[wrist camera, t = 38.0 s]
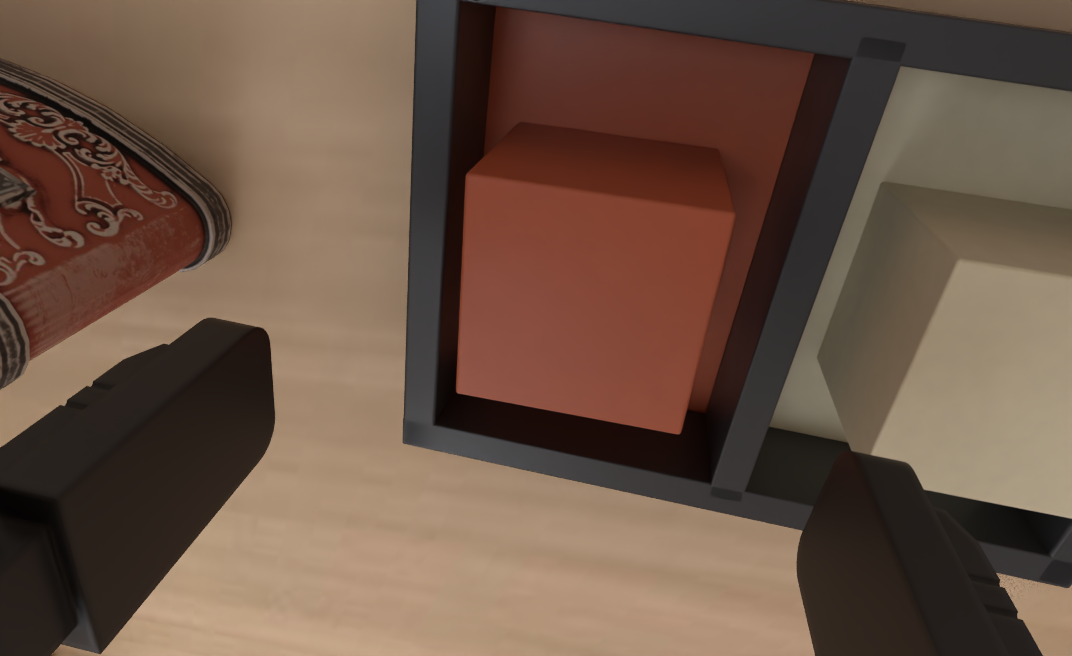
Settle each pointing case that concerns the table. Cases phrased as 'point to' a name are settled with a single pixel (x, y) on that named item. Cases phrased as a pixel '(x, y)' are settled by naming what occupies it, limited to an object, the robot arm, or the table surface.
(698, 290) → the terracotta block
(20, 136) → the lighter
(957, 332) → the cream block
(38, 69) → the table surface
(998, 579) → the robot arm
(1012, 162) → the sorting tray
